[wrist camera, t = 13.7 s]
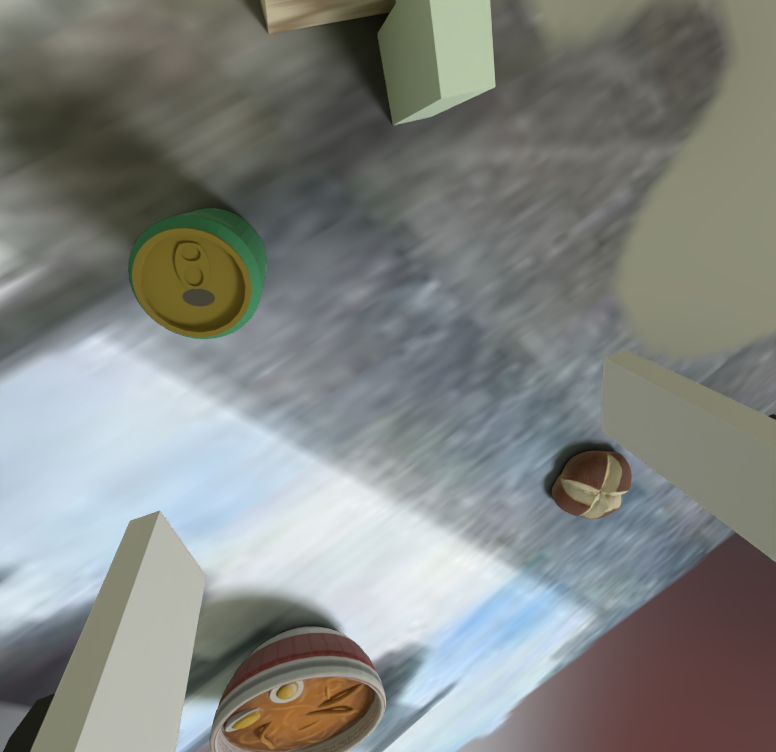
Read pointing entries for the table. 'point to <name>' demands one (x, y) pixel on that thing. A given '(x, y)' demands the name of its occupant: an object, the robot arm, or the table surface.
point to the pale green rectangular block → (435, 55)
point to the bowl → (300, 696)
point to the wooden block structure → (318, 12)
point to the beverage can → (199, 272)
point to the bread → (592, 484)
